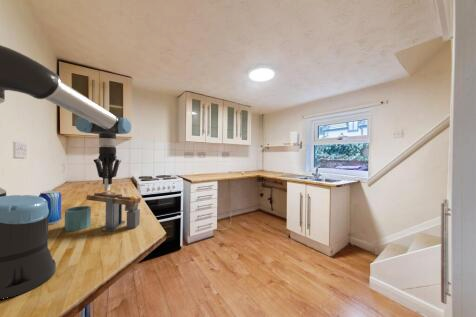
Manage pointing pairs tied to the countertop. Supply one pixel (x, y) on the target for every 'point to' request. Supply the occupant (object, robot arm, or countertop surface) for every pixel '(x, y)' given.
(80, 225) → the teal beaker
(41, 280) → the robot arm
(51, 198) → the beer can
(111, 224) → the stand
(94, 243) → the countertop surface
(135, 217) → the block
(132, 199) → the ball
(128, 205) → the lever
